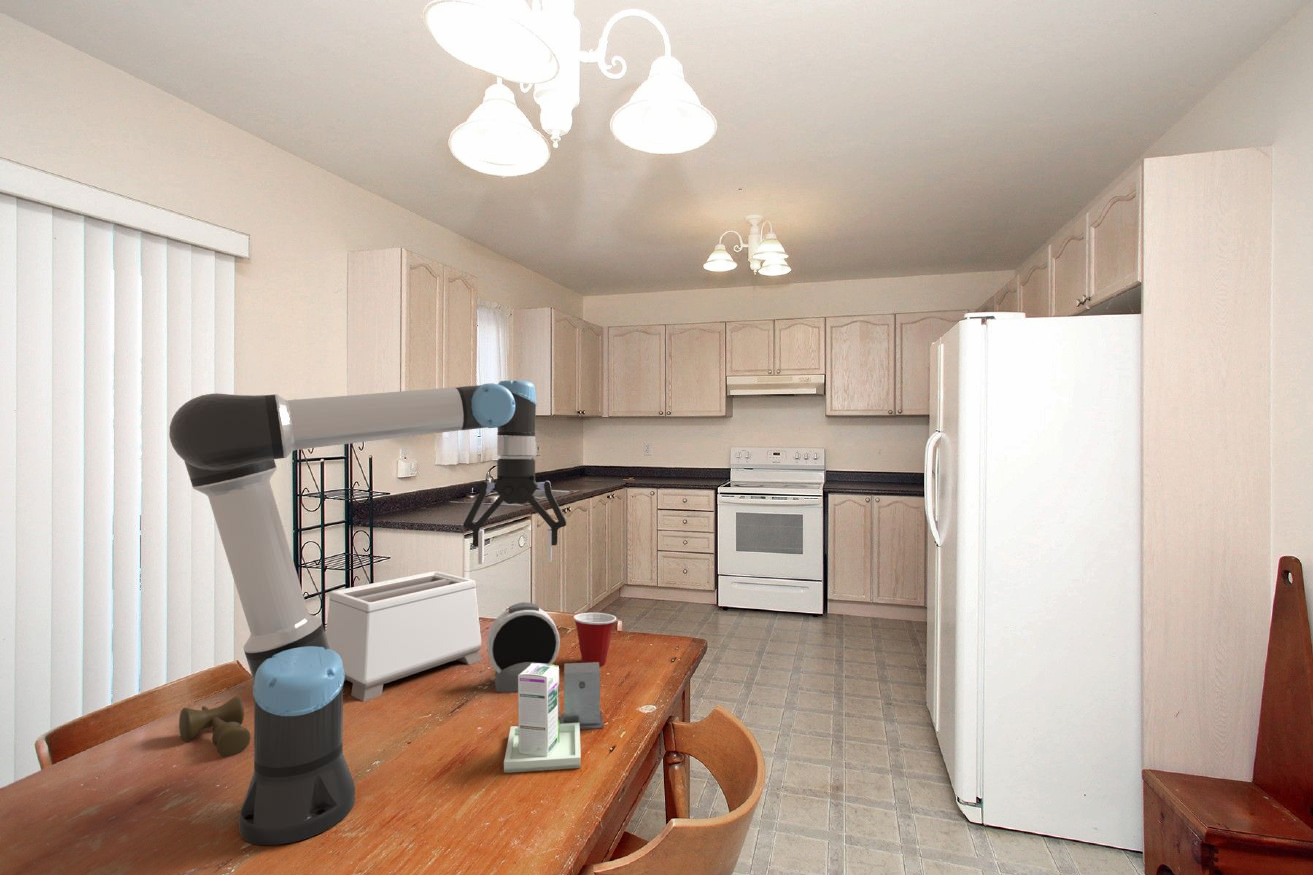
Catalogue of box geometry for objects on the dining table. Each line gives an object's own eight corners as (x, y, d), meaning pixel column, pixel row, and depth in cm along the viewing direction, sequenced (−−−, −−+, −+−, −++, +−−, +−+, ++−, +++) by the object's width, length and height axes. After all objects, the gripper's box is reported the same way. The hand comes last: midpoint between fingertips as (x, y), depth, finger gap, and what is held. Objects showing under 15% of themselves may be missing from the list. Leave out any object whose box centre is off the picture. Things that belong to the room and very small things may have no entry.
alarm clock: (488, 695, 136) (489, 613, 136) (485, 678, 146) (486, 601, 145) (561, 686, 141) (562, 607, 141) (554, 670, 151) (554, 595, 151)
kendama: (201, 770, 106) (171, 729, 119) (264, 750, 114) (230, 714, 127) (203, 735, 106) (173, 698, 119) (266, 718, 114) (231, 685, 127)
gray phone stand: (560, 730, 120) (560, 674, 120) (560, 716, 126) (560, 662, 126) (603, 727, 122) (603, 672, 122) (601, 714, 128) (602, 661, 127)
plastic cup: (624, 661, 157) (625, 614, 157) (598, 674, 148) (599, 625, 148) (591, 652, 163) (591, 607, 163) (564, 665, 154) (564, 617, 154)
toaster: (492, 656, 160) (493, 577, 160) (363, 702, 132) (363, 606, 132) (447, 641, 171) (448, 567, 171) (320, 680, 144) (320, 592, 144)
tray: (503, 772, 105) (503, 762, 105) (510, 735, 118) (510, 726, 118) (580, 767, 107) (580, 757, 107) (579, 731, 120) (579, 722, 120)
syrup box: (547, 758, 109) (548, 676, 109) (516, 754, 110) (517, 673, 110) (559, 742, 114) (560, 664, 114) (530, 738, 116) (530, 661, 116)
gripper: (578, 456, 131) (577, 557, 131) (456, 456, 127) (455, 559, 127) (578, 458, 123) (577, 564, 123) (449, 457, 120) (448, 567, 120)
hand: (515, 562), depth 125 cm, fingers open, 13 cm apart
